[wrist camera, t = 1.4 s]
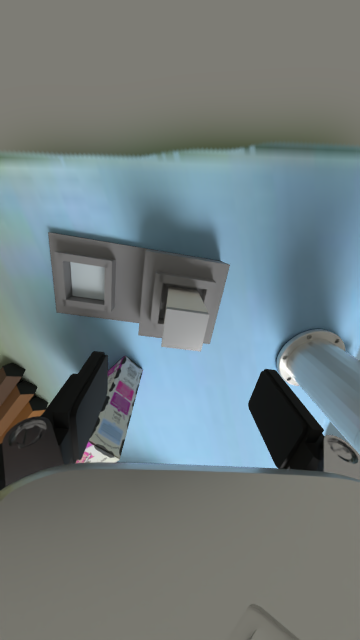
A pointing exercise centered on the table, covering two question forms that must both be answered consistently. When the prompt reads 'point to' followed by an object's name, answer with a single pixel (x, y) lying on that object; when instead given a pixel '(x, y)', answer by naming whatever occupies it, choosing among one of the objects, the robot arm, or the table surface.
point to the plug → (184, 320)
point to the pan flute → (16, 399)
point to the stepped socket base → (129, 281)
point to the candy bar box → (114, 414)
